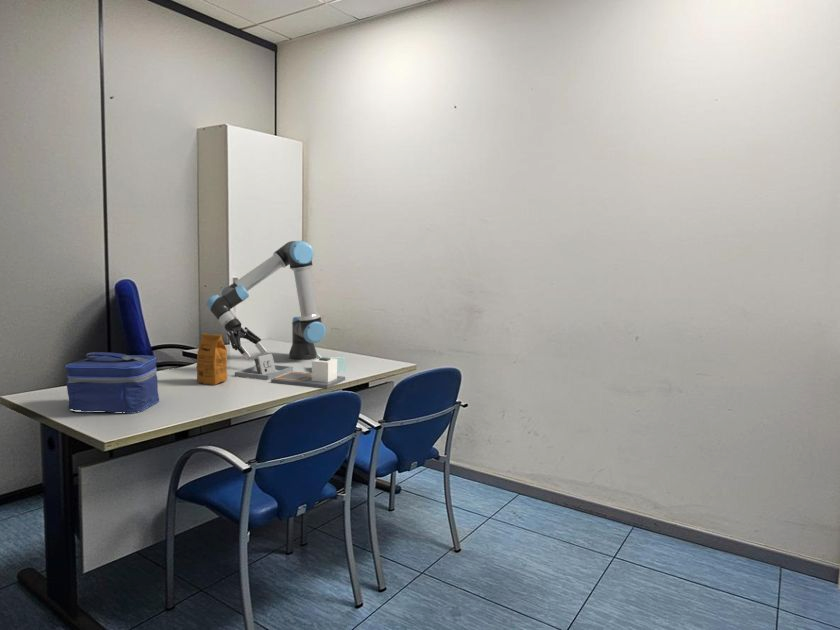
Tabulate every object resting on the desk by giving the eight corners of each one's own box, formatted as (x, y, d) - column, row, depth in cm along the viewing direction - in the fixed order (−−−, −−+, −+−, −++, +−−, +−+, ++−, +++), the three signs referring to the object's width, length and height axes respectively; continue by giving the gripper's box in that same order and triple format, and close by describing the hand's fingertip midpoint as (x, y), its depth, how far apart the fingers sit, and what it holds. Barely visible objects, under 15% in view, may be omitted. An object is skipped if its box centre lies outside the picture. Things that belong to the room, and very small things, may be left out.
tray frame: (261, 367, 285) (261, 363, 285) (293, 370, 279) (293, 366, 279) (234, 376, 264) (234, 372, 264) (268, 379, 259) (268, 375, 258)
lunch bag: (52, 413, 200) (49, 356, 198) (85, 398, 221) (83, 346, 218) (141, 415, 201) (139, 358, 199) (165, 399, 222) (164, 348, 219)
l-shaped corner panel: (345, 372, 280) (345, 357, 279) (321, 373, 275) (321, 358, 275) (340, 367, 291) (340, 352, 290) (316, 368, 287) (316, 353, 286)
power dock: (291, 374, 271) (291, 351, 269) (345, 379, 262) (345, 356, 261) (271, 382, 254) (271, 357, 252) (327, 388, 245) (327, 362, 244)
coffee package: (210, 378, 258) (209, 331, 256) (230, 381, 253) (229, 333, 250) (192, 382, 250) (191, 333, 247) (213, 386, 244) (212, 336, 242)
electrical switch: (262, 376, 266) (260, 356, 266) (254, 375, 269) (252, 356, 268) (276, 372, 275) (274, 353, 274) (268, 372, 277) (266, 353, 277)
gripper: (241, 324, 287) (266, 356, 284) (208, 330, 263) (236, 365, 260) (250, 315, 285) (276, 346, 282) (218, 320, 261) (246, 355, 258)
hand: (257, 355), depth 271 cm, fingers open, 13 cm apart
